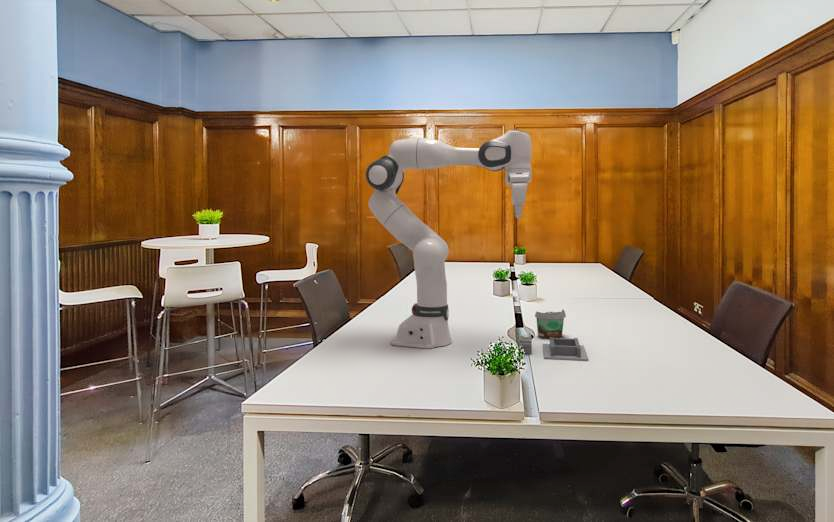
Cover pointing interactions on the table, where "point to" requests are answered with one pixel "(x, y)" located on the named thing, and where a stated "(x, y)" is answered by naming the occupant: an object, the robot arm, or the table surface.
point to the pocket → (564, 350)
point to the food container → (550, 324)
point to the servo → (526, 343)
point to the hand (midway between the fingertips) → (517, 218)
